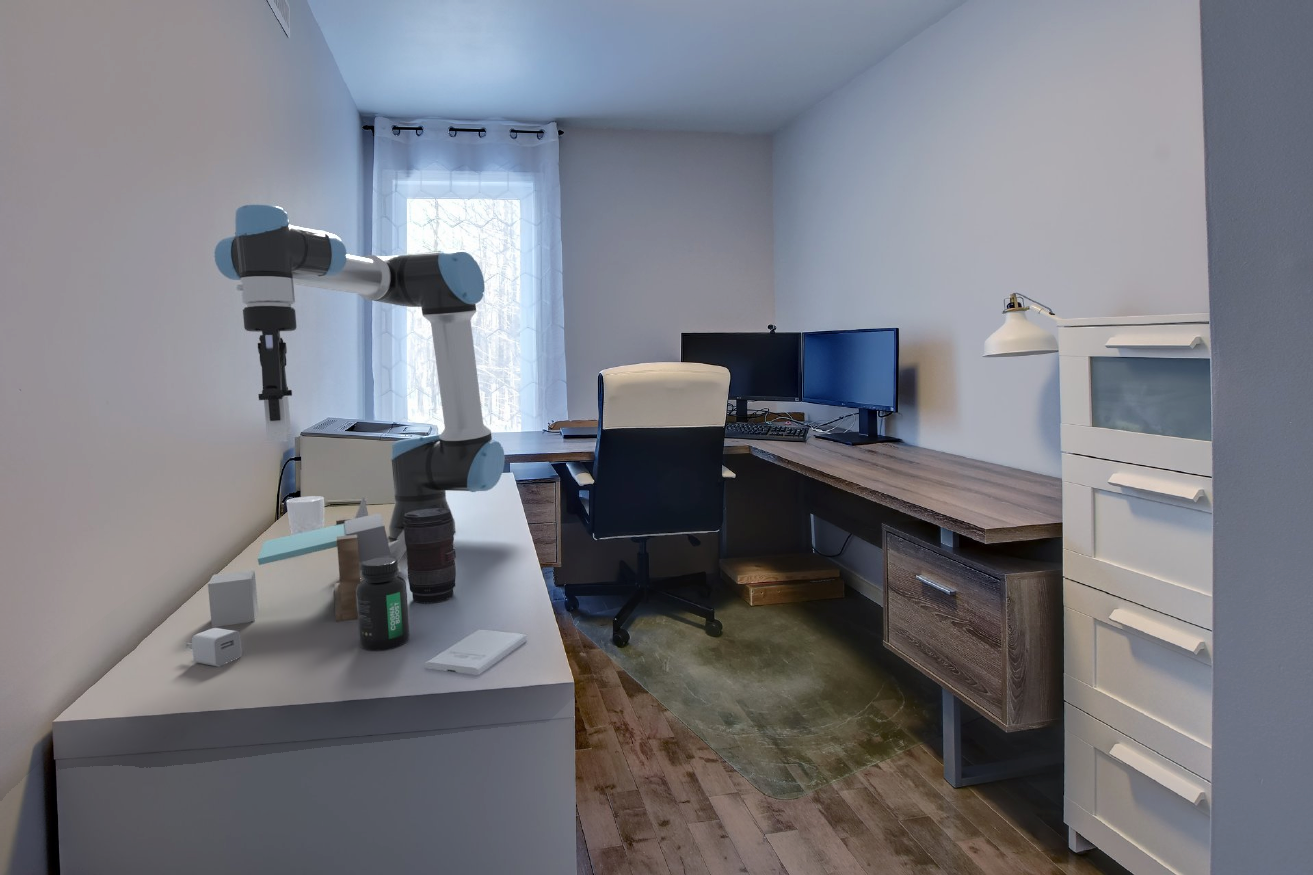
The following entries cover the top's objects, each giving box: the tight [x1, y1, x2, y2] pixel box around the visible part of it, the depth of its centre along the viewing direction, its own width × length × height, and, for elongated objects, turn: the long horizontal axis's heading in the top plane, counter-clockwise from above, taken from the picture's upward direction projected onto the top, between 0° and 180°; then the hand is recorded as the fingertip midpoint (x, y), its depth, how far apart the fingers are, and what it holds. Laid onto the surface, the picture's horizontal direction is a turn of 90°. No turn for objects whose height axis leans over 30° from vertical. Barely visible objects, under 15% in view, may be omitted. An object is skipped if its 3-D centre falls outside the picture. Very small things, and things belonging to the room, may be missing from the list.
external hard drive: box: [424, 629, 527, 676], centre depth 106 cm, size 2×8×12 cm
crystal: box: [354, 496, 407, 578], centre depth 150 cm, size 10×13×15 cm
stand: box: [334, 516, 364, 622], centre depth 130 cm, size 5×19×13 cm, turn 23°
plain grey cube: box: [207, 569, 259, 628], centre depth 124 cm, size 6×6×7 cm
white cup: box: [286, 495, 325, 535], centre depth 178 cm, size 8×8×10 cm
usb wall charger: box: [185, 627, 242, 667], centre depth 107 cm, size 4×7×4 cm, turn 67°
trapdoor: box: [257, 512, 391, 566], centre depth 129 cm, size 19×13×5 cm
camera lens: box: [404, 508, 457, 604], centre depth 132 cm, size 8×8×15 cm
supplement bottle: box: [356, 558, 410, 651], centre depth 111 cm, size 7×7×12 cm
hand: (280, 438), depth 125 cm, fingers open, 13 cm apart
